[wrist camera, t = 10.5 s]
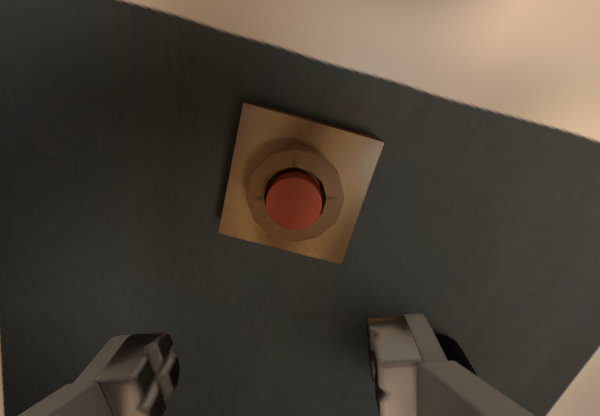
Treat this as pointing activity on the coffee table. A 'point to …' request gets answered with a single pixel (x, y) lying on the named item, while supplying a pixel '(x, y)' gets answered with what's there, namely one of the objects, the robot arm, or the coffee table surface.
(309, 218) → the button
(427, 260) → the coffee table surface
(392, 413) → the robot arm
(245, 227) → the button block
